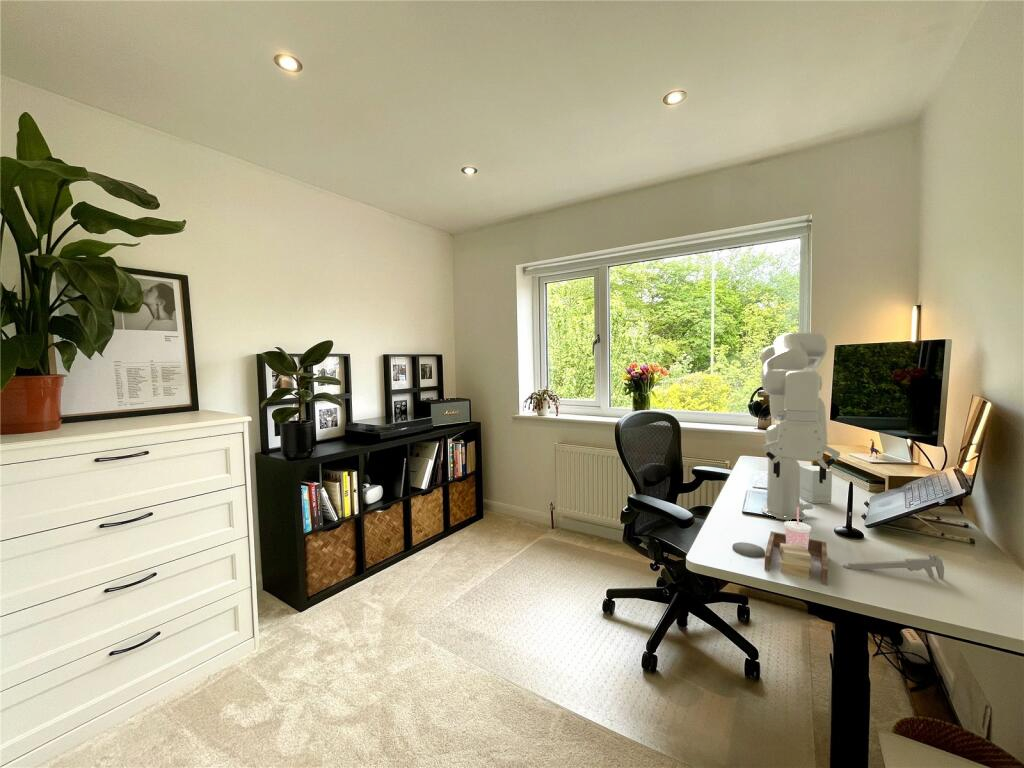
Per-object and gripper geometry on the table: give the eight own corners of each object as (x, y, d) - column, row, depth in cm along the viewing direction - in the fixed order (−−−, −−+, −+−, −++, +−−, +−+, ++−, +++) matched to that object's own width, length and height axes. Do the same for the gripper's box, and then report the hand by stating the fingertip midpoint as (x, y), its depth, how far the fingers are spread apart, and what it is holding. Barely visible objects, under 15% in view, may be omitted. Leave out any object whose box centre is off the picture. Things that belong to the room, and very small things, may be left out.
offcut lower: (782, 564, 112) (782, 553, 111) (809, 570, 108) (810, 559, 108) (780, 573, 107) (780, 562, 107) (809, 580, 103) (809, 568, 103)
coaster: (752, 543, 123) (752, 541, 123) (771, 556, 115) (771, 554, 115) (726, 544, 123) (726, 542, 123) (743, 557, 115) (743, 555, 115)
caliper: (940, 578, 103) (941, 553, 103) (943, 580, 102) (944, 555, 102) (842, 567, 110) (843, 543, 109) (844, 569, 108) (845, 545, 108)
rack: (770, 544, 123) (770, 531, 122) (825, 556, 115) (826, 542, 115) (764, 569, 108) (764, 554, 108) (827, 585, 100) (827, 569, 100)
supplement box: (832, 504, 156) (833, 470, 155) (812, 504, 156) (813, 470, 155) (817, 497, 163) (818, 465, 162) (798, 497, 163) (799, 465, 162)
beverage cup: (798, 563, 111) (799, 512, 110) (778, 553, 117) (779, 504, 116) (815, 560, 113) (817, 509, 112) (795, 550, 119) (796, 502, 118)
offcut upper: (779, 554, 111) (780, 543, 111) (805, 557, 109) (805, 546, 109) (784, 563, 106) (784, 552, 106) (810, 567, 104) (811, 555, 104)
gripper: (761, 415, 115) (760, 477, 115) (842, 420, 104) (840, 488, 105) (764, 413, 121) (763, 471, 121) (840, 417, 110) (838, 481, 111)
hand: (798, 479), depth 113 cm, fingers open, 9 cm apart
